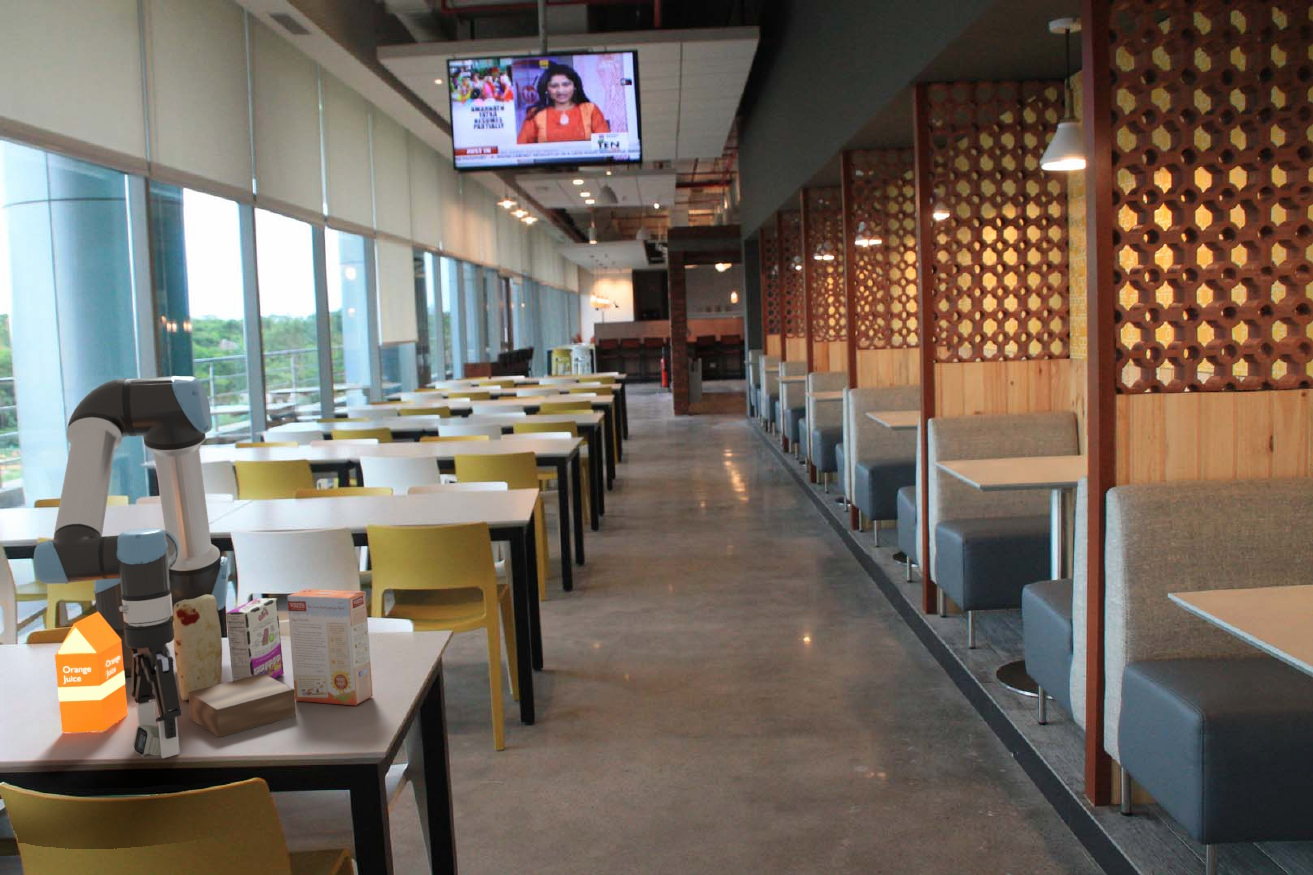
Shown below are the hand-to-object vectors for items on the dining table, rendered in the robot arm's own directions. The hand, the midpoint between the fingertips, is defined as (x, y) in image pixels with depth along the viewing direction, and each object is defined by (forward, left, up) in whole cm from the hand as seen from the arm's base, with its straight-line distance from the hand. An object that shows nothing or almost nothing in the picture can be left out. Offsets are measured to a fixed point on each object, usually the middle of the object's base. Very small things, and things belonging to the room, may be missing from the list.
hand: (159, 747), depth 180 cm
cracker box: (0, +32, 0) cm, 32 cm away
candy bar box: (-21, +26, 0) cm, 33 cm away
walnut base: (-4, +16, 0) cm, 17 cm away
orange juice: (-22, -4, 0) cm, 22 cm away
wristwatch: (0, 0, -1) cm, 1 cm away
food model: (-22, +15, 0) cm, 27 cm away
